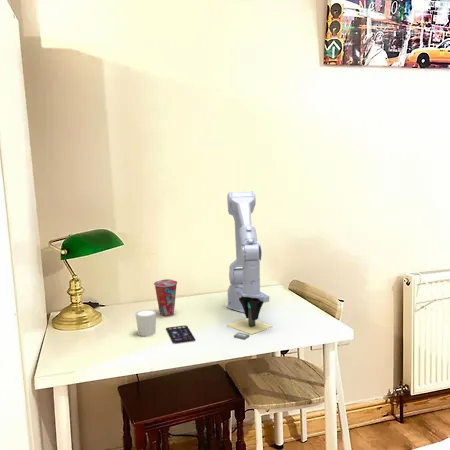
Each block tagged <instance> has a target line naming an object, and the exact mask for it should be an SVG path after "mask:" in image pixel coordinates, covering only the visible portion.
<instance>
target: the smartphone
mask: <svg viewBox="0 0 450 450" xmlns="http://www.w3.org/2000/svg"><path fill="white" fill-rule="evenodd" d="M165 331H166V333H167V335H168V337H169V339H170V341H171V343H172V345H179V344H186V343H187V344H188V343H195V342H196V338H195V336H194V335H193V332H192V331H191V329H190V328H189V326H188V325H187V324H185V325H177V326H170V327H169V326H168V327H166V328H165Z"/></svg>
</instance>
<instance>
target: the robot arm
mask: <svg viewBox="0 0 450 450" xmlns="http://www.w3.org/2000/svg"><path fill="white" fill-rule="evenodd" d="M226 198H227V199H226V201H227V202H226V203H227V212H228V215H231V216H232V217H233V220H234V236H235V237H234V238H235V240H234V241H235V256H236V258H235V260H233V261H232V262H231V263H230V265H229V271H228V276H229V277H228V278H229V284H230V285H228V288H227V305H226V308H227V309H230V310H234V311H237V312H240V313H244V315H245V318H248V302H249V304H250V307H251V313H252V320H255V321H258V319H259V315H260V312H261V309H262V307H263V305H264V303H265V304H266V303H269V302H270V295H267V294H266V293H264V292H263V291H261V271H260V269H261V268H260V267H261V264H260V263H261V260H262V255H263V254H262V253H263V252H262V246H261V243H260V241H258V236H257V229H256V227H255V226H253V225H252V215H251V214H253V212H254V209H255V207H256V201H257V199H256V194H255V192H254V191H253V190H251V191H228V193H227V196H226Z"/></svg>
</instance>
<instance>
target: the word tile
mask: <svg viewBox="0 0 450 450" xmlns="http://www.w3.org/2000/svg"><path fill="white" fill-rule="evenodd" d="M249 337H250V334H248V333H244V332H243V333H242V332H237V333H236V334H234V335H233V338H236V339H241V340H246V339H248V338H249Z"/></svg>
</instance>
